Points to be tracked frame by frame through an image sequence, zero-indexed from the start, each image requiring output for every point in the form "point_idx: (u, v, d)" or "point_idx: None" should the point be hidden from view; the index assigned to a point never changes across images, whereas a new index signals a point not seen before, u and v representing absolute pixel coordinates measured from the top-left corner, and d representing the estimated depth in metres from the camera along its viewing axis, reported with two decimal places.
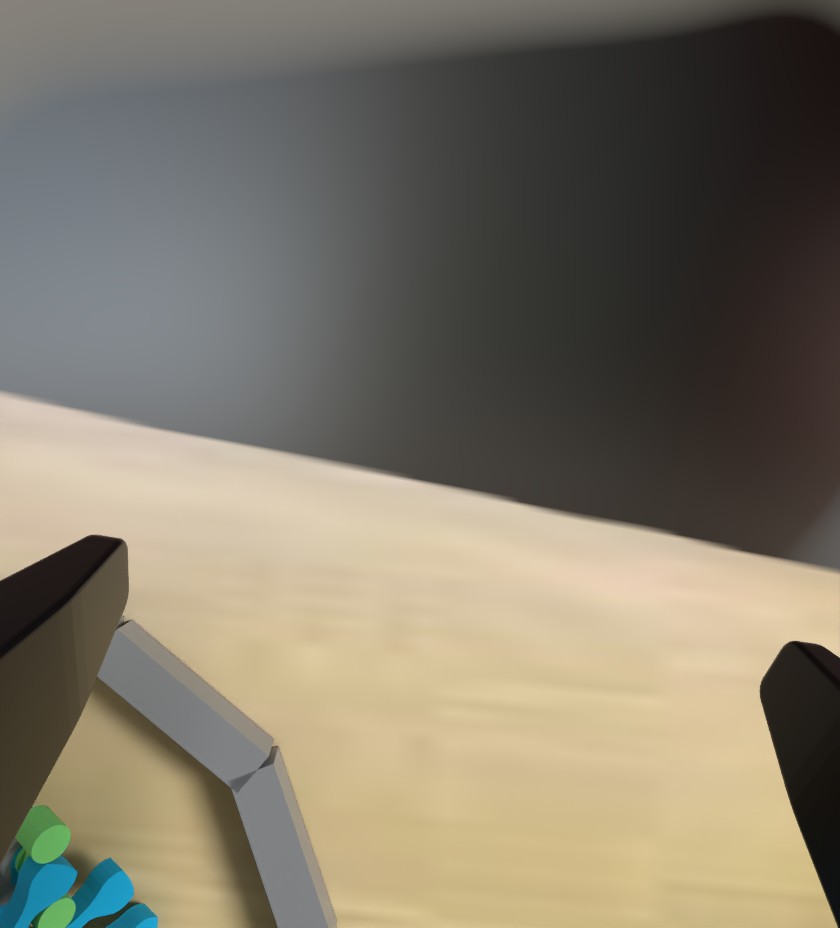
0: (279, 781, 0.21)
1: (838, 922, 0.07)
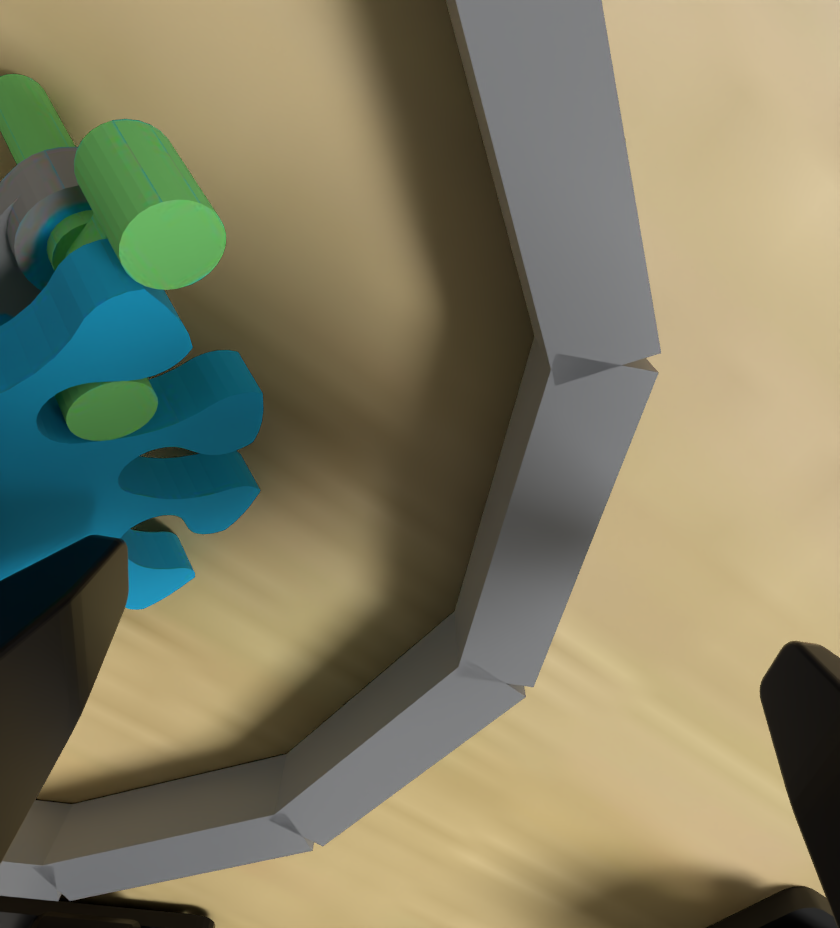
0: (641, 410, 0.10)
1: (838, 922, 0.07)
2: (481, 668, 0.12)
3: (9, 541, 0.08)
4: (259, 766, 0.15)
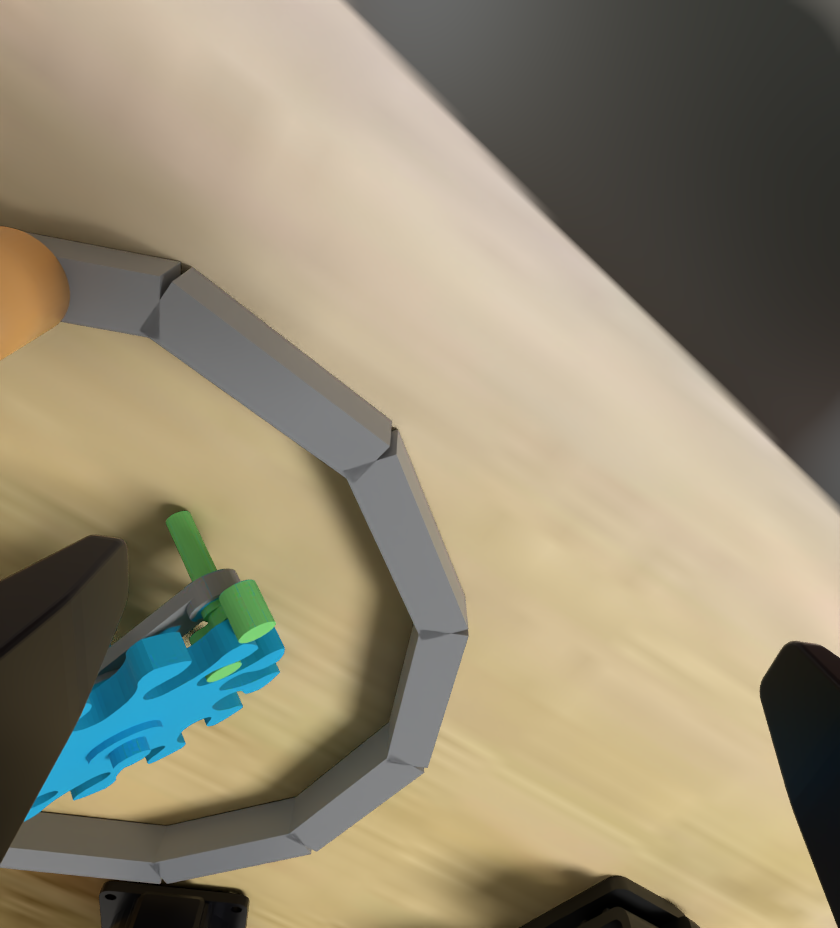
0: (463, 649, 0.20)
1: (838, 923, 0.07)
2: (399, 758, 0.23)
3: (172, 716, 0.19)
4: (280, 804, 0.26)
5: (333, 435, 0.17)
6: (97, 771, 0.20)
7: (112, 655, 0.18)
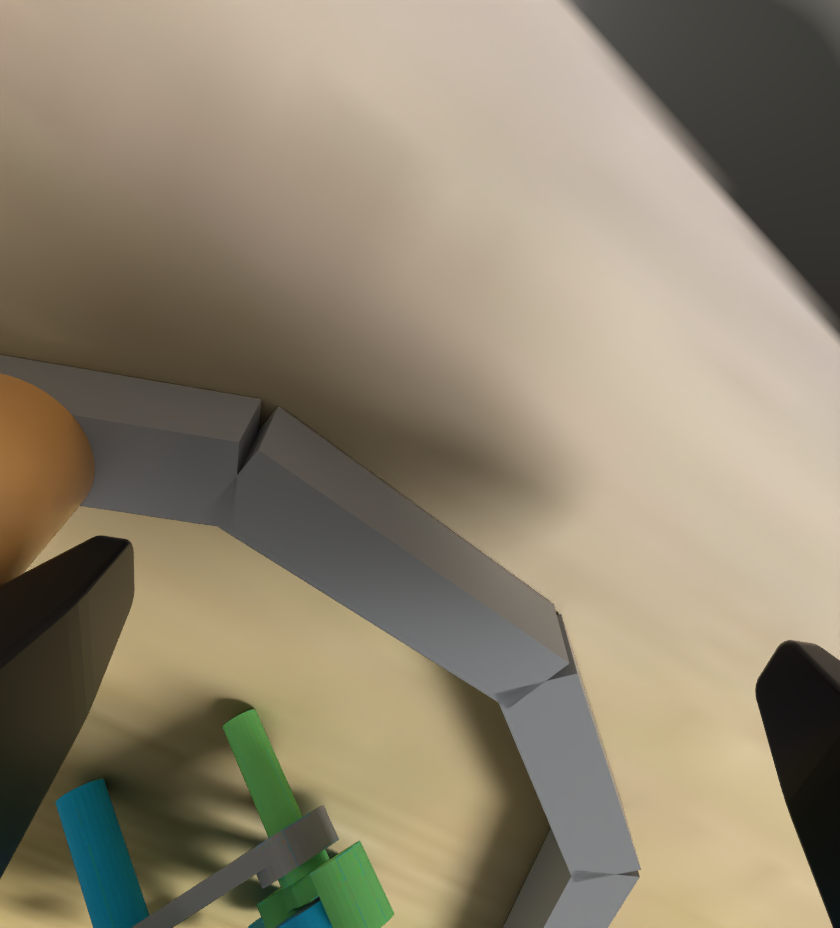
0: (629, 890, 0.15)
1: (833, 923, 0.07)
2: None
3: None
4: None
5: (487, 650, 0.11)
6: None
7: None
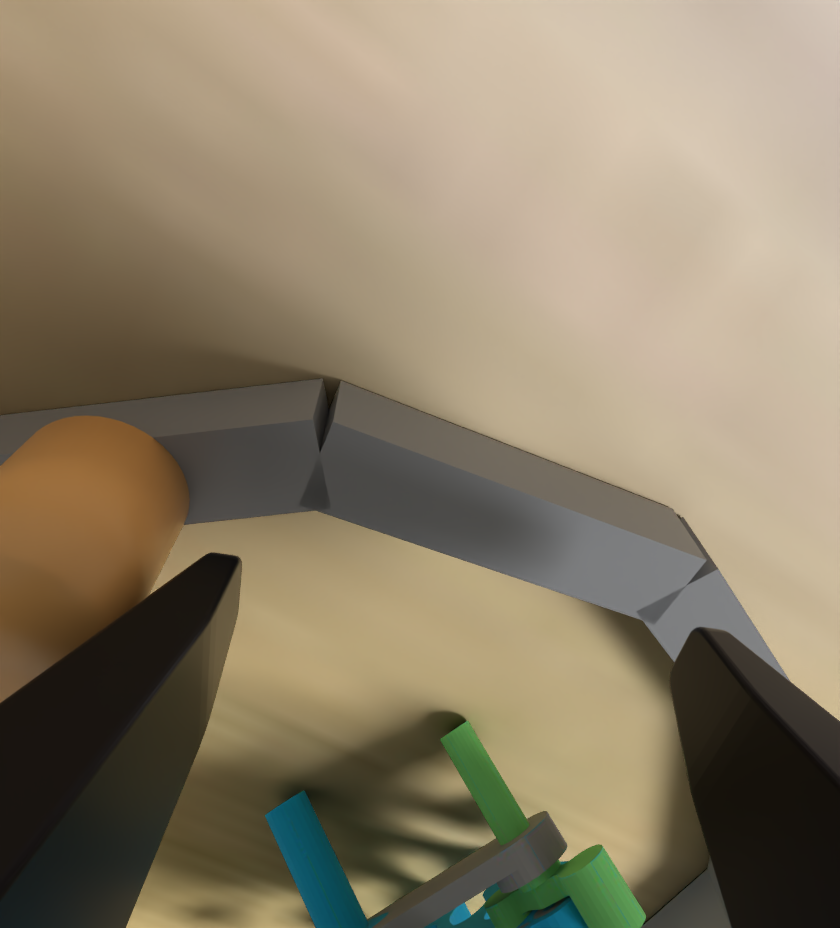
0: None
1: (728, 910, 0.07)
2: None
3: None
4: None
5: (616, 568, 0.11)
6: None
7: None
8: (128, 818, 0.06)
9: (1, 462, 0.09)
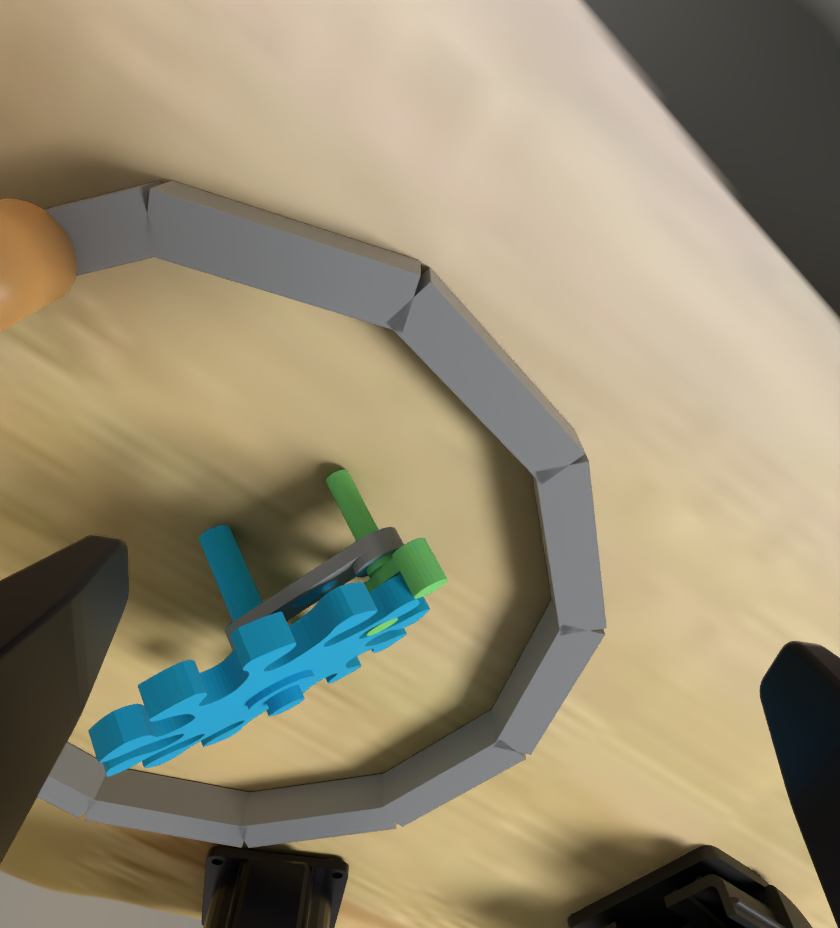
0: (590, 479, 0.18)
1: (838, 922, 0.07)
2: (572, 626, 0.21)
3: (320, 668, 0.20)
4: (479, 720, 0.25)
5: (361, 286, 0.16)
6: (239, 718, 0.20)
7: (275, 604, 0.19)
8: None
9: None
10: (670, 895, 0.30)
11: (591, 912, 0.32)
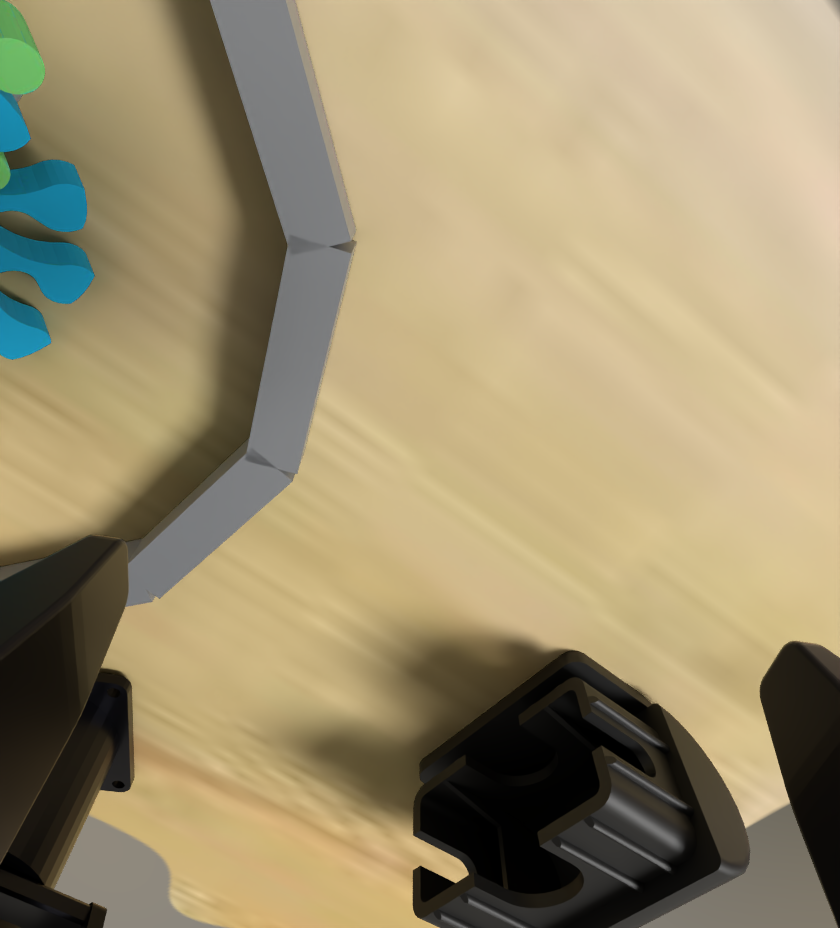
0: None
1: (839, 922, 0.07)
2: (304, 239, 0.15)
3: None
4: (242, 445, 0.20)
5: None
6: None
7: None
8: None
9: None
10: (525, 711, 0.24)
11: (443, 751, 0.26)
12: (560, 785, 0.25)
